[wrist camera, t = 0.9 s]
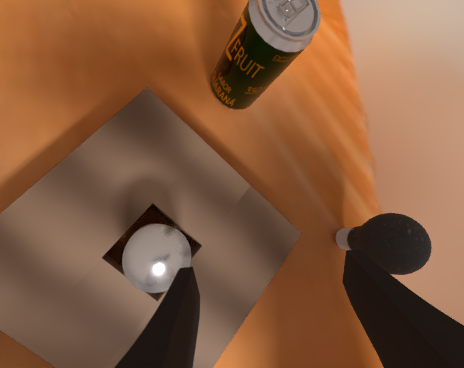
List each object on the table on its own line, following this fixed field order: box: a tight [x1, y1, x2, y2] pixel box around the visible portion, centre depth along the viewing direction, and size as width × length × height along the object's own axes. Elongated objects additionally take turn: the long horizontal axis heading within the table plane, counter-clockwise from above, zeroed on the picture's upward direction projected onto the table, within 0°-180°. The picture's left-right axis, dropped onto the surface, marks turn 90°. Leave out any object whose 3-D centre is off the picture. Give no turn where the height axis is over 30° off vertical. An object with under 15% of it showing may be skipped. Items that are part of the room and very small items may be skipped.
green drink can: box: [211, 0, 320, 110], centre depth 23 cm, size 5×5×12 cm
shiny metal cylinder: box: [122, 223, 191, 293], centre depth 21 cm, size 4×4×7 cm
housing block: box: [0, 87, 302, 368], centre depth 23 cm, size 20×20×3 cm
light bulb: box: [336, 213, 431, 275], centre depth 26 cm, size 6×6×10 cm
